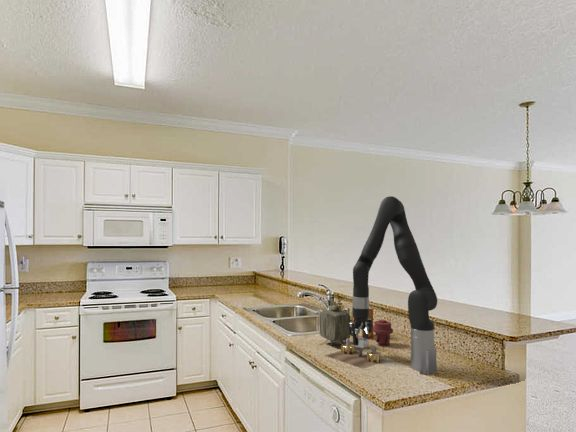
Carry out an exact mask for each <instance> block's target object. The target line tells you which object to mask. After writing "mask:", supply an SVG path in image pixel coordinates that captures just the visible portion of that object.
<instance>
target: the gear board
mask: <svg viewBox="0 0 576 432" xmlns="http://www.w3.org/2000/svg"><path fill="white" fill-rule="evenodd" d="M350 344H351V343H350V338H347V339H346V346H350ZM371 351H372V354H376V352H377V347H376V345H372V346H371ZM324 356H325V357H327V358H331V359H334V360H336V361H339V362H342V363H345V364H348V365H351V366H354V367H356V368H360V369H366V368H369V367H371V366H375V365H378V364H381V363H384V362H386V361H387V360H385V359H382V358H381V362H379V363H376V362H373V363H372V362H370V361H367V353H363V347H362V348H360V347H358V351H356V350H355V353H354V354H343V353H342V352H341V350H340V351H335V352H332V353H328V354H324Z"/></svg>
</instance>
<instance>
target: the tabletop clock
mask: <svg viewBox="0 0 576 432" xmlns="http://www.w3.org/2000/svg"><path fill="white" fill-rule="evenodd" d="M332 298H336V299H337V301H338V302H337V301H332ZM329 300H330V303H331V304H333V305H330V307H329V309H326V310H325V309H323V310H322V311H321V312H320V314H319V335H320V337H322V338H324V339H326V340H328V341H329V342H330V344H329V346H331V347H332V346H333V342H334V343H335V342H337V343H338V342H340V343H342V344H344V340H346V339H347V338H349V339H350V338H351V336H350V335H349V322H351V321H352V319H351V315H350V313H349V312H348V311H346V310H343V309H341V308H340V306H339V304H340V302H341V301H340V298H339V297H338V296H336V295H331V297H330V299H329ZM342 344H341V345H342Z"/></svg>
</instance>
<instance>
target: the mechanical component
mask: <svg viewBox="0 0 576 432" xmlns="http://www.w3.org/2000/svg"><path fill="white" fill-rule="evenodd" d="M374 333H375V342H376V344H377V345H378V347H385V346H387V347H388V346H390V342H391V341H390V339H391V334H393V333H394V329H393V328H392V322H390V321H387V320H386V319H378V320H375V321H373V334H374Z"/></svg>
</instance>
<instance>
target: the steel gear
mask: <svg viewBox="0 0 576 432" xmlns="http://www.w3.org/2000/svg"><path fill="white" fill-rule="evenodd" d="M368 343H369V338H368V339H366V338H363V337H358V345H357V346H356V345H353V346H355V347H356V348H359V347H360V348H362V349H363V348H367V347H368V346H369V345H368Z"/></svg>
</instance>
